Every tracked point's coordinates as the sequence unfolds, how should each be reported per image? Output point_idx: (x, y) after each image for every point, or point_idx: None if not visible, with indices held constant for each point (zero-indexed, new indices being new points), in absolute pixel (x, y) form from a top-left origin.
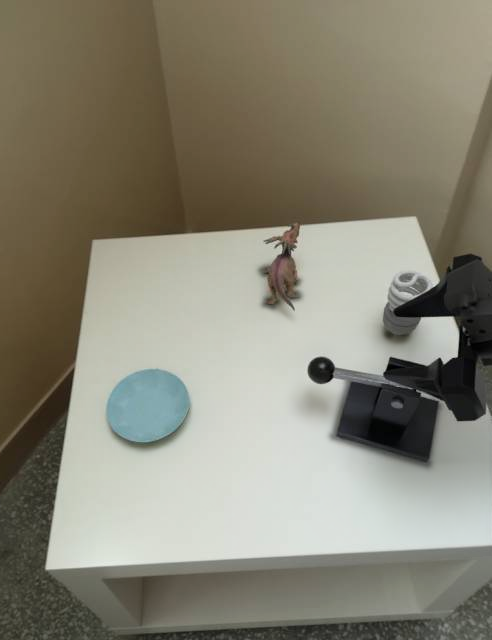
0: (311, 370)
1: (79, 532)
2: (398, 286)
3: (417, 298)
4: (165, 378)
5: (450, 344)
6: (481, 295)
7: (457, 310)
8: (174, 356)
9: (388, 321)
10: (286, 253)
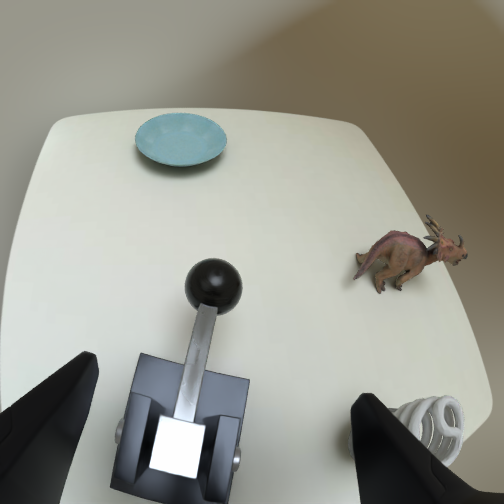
0: (202, 260)
1: (71, 125)
2: (433, 408)
3: (419, 450)
4: (217, 150)
5: None
6: None
7: None
8: (252, 164)
9: None
10: (427, 251)
